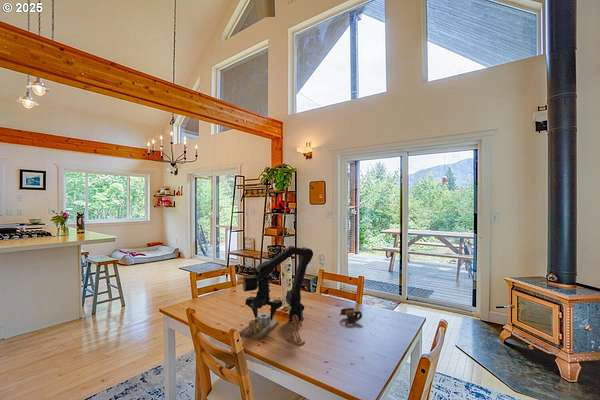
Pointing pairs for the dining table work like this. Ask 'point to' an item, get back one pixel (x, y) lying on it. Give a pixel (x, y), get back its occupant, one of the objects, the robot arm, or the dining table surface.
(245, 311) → the dining table surface
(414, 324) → the dining table surface
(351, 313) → the pottery mug
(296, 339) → the gingerbread man figurine
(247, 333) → the gear board
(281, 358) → the dining table surface
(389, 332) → the dining table surface
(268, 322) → the loose gear
